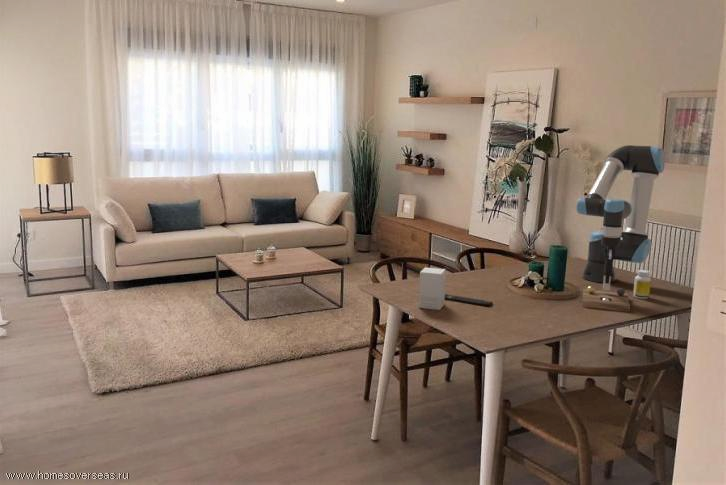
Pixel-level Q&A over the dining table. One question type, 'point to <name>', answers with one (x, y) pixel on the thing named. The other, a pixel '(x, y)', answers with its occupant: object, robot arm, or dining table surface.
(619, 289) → the rubber ball
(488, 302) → the remote control
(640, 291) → the pill bottle
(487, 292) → the dining table surface
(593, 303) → the board
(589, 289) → the brass ball
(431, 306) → the supplement box
